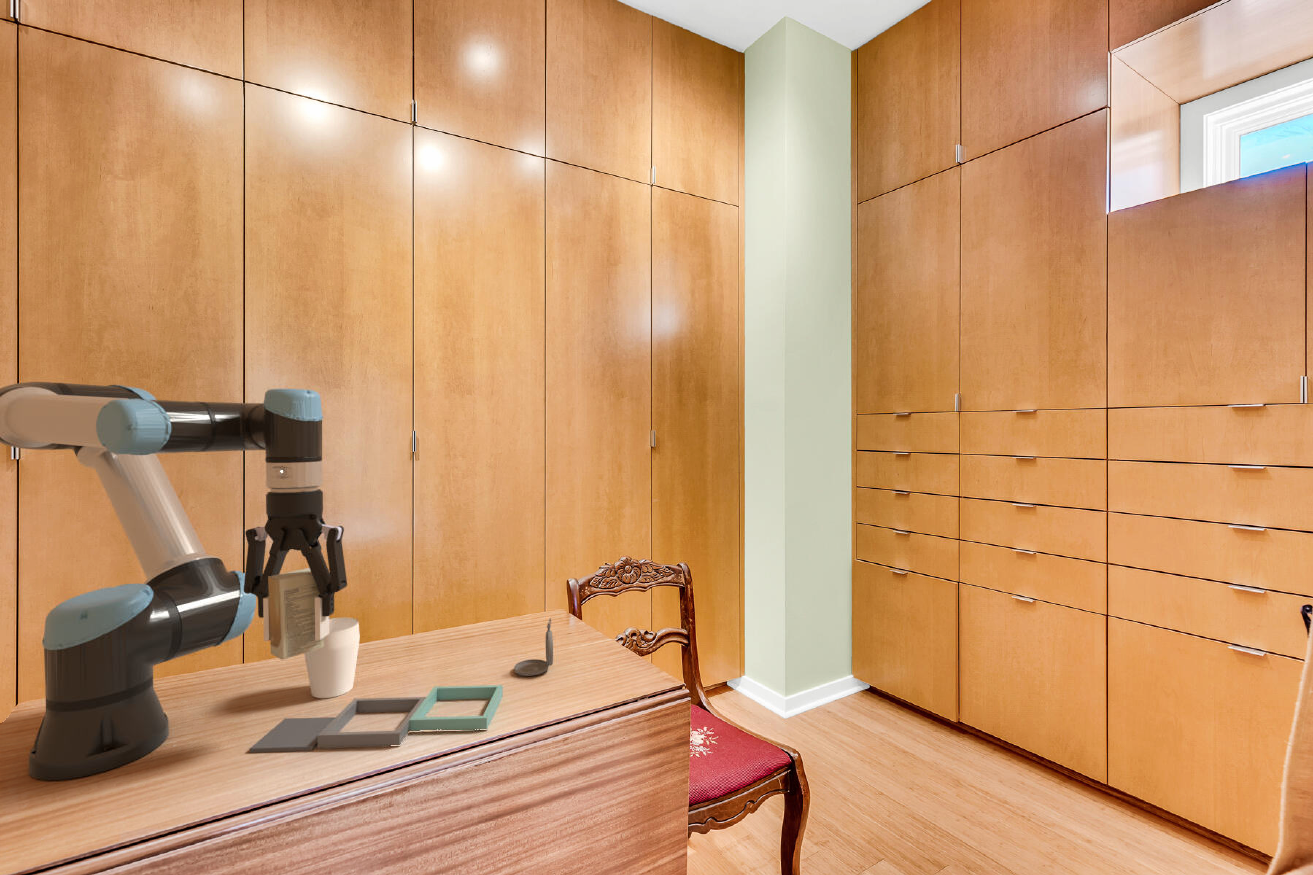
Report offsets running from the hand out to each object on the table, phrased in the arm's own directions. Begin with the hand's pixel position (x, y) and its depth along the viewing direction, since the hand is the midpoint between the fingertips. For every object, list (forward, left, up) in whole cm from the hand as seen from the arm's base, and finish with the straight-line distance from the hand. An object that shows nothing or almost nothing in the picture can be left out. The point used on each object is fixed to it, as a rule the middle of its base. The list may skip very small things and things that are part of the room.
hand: (296, 636), depth 92 cm
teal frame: (+23, +6, -15) cm, 28 cm away
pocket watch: (+33, +23, -16) cm, 44 cm away
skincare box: (0, 0, -2) cm, 2 cm away
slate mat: (0, 0, -15) cm, 15 cm away
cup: (-3, +16, -16) cm, 23 cm away
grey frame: (+11, +2, -15) cm, 19 cm away
